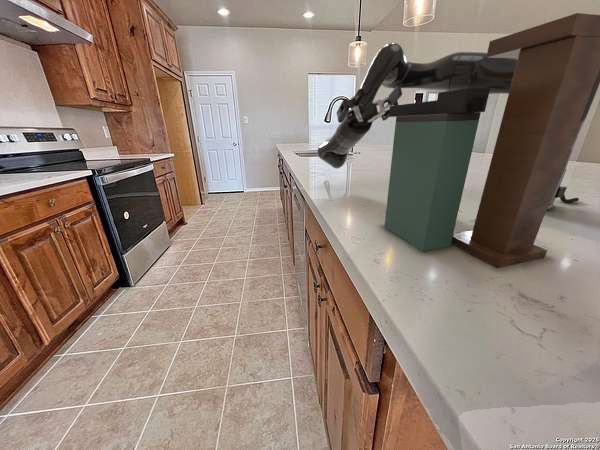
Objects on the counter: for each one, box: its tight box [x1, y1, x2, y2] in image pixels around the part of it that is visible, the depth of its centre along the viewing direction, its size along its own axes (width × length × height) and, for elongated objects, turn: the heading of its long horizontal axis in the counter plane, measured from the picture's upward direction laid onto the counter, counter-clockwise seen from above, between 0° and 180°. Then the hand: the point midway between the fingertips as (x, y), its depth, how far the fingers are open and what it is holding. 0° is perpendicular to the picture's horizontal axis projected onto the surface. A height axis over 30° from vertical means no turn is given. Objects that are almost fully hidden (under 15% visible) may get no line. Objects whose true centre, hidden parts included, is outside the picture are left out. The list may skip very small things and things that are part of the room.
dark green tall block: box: [384, 112, 482, 252], centre depth 45 cm, size 6×12×22 cm, turn 15°
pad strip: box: [389, 88, 490, 118], centre depth 41 cm, size 4×18×3 cm, turn 15°
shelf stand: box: [451, 12, 600, 269], centre depth 38 cm, size 10×11×32 cm
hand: (382, 89), depth 53 cm, fingers open, 8 cm apart
